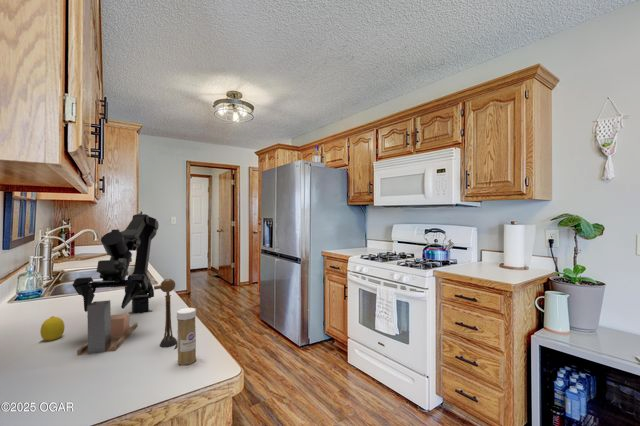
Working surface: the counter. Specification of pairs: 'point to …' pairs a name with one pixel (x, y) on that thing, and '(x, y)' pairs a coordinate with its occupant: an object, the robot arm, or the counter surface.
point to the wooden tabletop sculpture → (167, 314)
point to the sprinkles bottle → (186, 336)
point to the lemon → (52, 328)
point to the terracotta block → (119, 324)
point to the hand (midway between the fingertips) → (104, 309)
